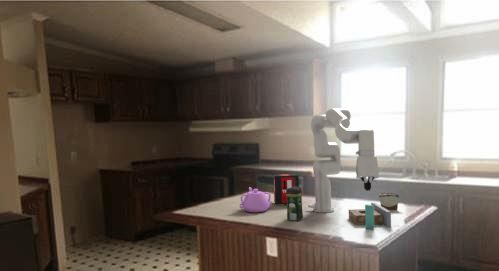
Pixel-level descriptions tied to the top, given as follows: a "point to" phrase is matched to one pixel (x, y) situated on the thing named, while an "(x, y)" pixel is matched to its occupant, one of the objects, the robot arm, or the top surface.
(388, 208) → the food container
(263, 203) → the teapot
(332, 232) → the top surface
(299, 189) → the coffee jar
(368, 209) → the dowel
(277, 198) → the cleaning product box
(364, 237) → the top surface
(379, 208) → the backstop wall
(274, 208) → the top surface
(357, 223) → the socket block
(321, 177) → the robot arm
